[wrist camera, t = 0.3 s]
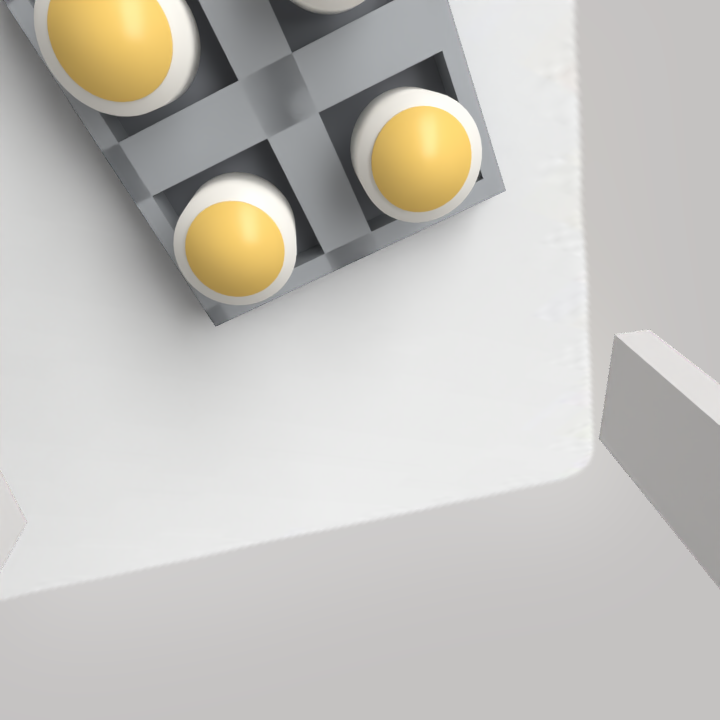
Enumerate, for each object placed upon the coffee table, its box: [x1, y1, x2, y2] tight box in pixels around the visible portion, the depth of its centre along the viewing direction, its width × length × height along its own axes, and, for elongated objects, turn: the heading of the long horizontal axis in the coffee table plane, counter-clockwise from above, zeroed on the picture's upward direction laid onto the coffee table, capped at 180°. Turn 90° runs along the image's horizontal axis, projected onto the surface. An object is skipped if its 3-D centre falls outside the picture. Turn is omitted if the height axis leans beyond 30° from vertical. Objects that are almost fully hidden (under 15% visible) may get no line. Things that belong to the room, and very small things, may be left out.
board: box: [3, 0, 506, 327], centre depth 29 cm, size 25×20×3 cm
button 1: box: [34, 0, 201, 117], centre depth 25 cm, size 6×6×4 cm
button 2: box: [173, 172, 297, 305], centre depth 30 cm, size 6×6×4 cm
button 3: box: [350, 86, 482, 223], centre depth 29 cm, size 6×6×4 cm
